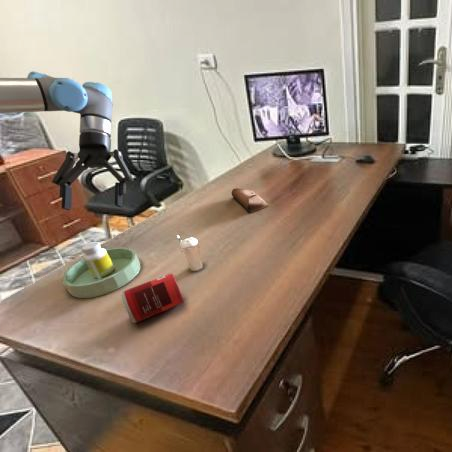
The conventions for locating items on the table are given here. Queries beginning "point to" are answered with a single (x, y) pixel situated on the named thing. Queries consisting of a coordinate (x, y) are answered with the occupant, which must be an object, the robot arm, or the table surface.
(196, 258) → the milkshake
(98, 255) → the supplement bottle
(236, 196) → the sunglasses case
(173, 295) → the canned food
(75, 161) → the robot arm
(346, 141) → the table surface
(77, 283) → the pan
